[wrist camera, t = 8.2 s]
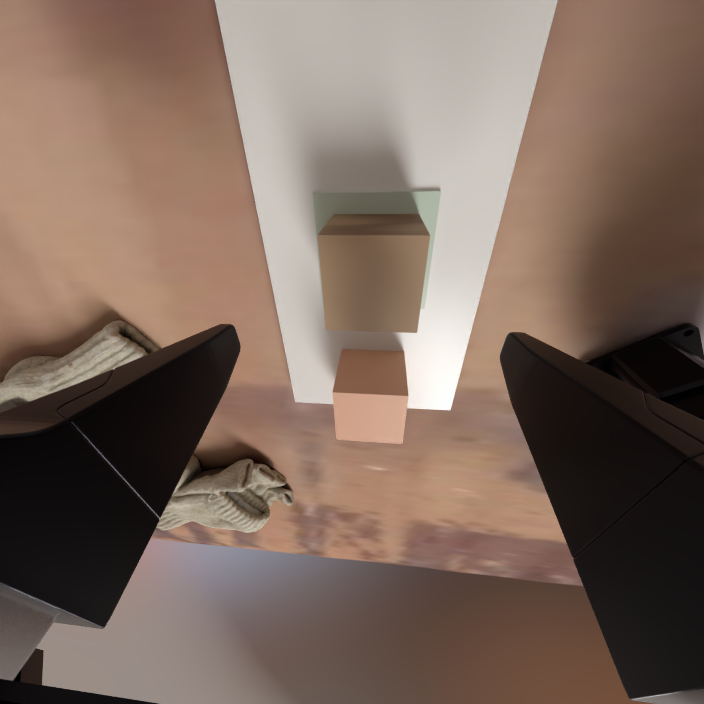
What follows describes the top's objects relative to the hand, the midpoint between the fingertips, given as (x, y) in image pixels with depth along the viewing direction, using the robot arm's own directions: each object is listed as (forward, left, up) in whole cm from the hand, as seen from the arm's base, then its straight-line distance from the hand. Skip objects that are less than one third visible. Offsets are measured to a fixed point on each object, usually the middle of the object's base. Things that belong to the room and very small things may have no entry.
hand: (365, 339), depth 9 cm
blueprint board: (0, 0, -10) cm, 10 cm away
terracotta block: (-7, +5, -9) cm, 12 cm away
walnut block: (0, 0, -8) cm, 9 cm away
